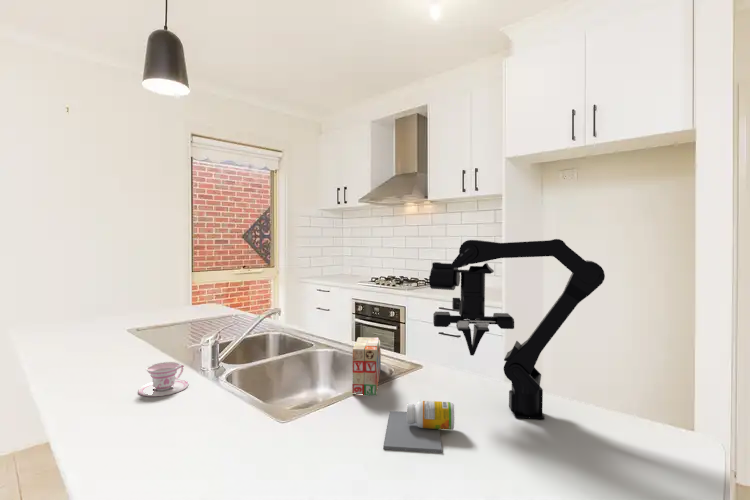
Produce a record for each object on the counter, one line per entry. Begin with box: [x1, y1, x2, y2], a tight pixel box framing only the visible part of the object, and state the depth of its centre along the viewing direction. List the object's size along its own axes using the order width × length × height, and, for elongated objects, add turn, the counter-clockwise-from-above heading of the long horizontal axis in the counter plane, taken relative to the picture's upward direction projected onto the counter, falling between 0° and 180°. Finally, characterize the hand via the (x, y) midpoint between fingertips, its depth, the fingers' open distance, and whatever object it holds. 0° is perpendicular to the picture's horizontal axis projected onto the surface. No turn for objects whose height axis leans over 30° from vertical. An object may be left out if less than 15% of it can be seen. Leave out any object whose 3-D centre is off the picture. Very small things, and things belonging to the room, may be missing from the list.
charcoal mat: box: [382, 410, 443, 454], centre depth 85 cm, size 11×16×1 cm
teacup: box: [138, 361, 190, 398], centre depth 108 cm, size 12×12×6 cm
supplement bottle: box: [406, 400, 455, 431], centre depth 85 cm, size 5×5×10 cm
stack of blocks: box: [351, 336, 382, 396], centre depth 114 cm, size 21×6×12 cm, turn 176°
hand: (471, 355), depth 99 cm, fingers closed
